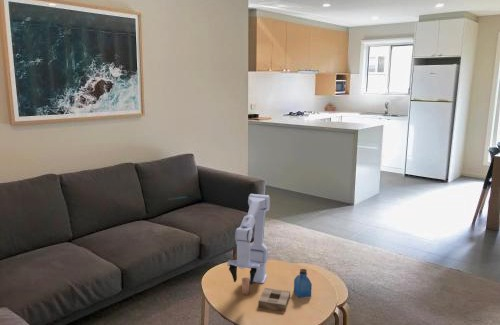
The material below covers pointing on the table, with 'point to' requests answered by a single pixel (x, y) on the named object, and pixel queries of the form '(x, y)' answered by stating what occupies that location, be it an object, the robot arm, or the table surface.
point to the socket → (274, 299)
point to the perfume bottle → (302, 284)
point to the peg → (245, 286)
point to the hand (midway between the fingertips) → (243, 282)
